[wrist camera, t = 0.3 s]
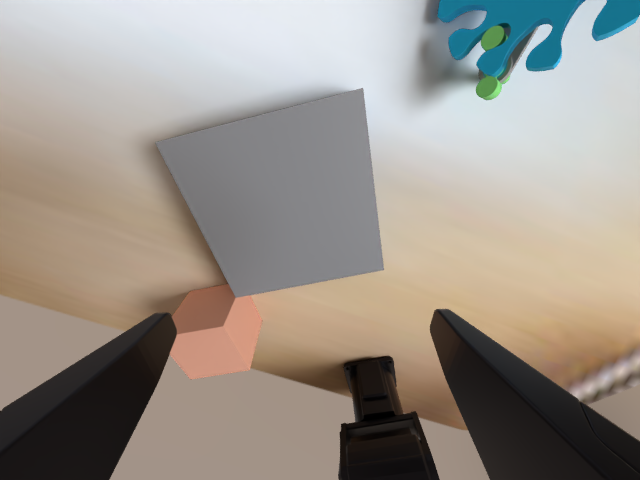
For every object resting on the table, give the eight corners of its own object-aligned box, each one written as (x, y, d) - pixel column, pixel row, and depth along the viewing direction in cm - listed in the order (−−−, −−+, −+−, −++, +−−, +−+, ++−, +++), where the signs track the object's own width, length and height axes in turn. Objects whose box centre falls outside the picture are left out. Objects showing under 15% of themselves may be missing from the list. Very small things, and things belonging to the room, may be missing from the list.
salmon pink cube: (262, 320, 27) (249, 370, 22) (214, 329, 28) (190, 379, 23) (243, 280, 25) (223, 326, 19) (190, 290, 25) (156, 338, 20)
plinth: (377, 255, 23) (384, 270, 21) (243, 281, 24) (235, 297, 22) (356, 91, 17) (363, 88, 14) (174, 138, 18) (154, 142, 16)
